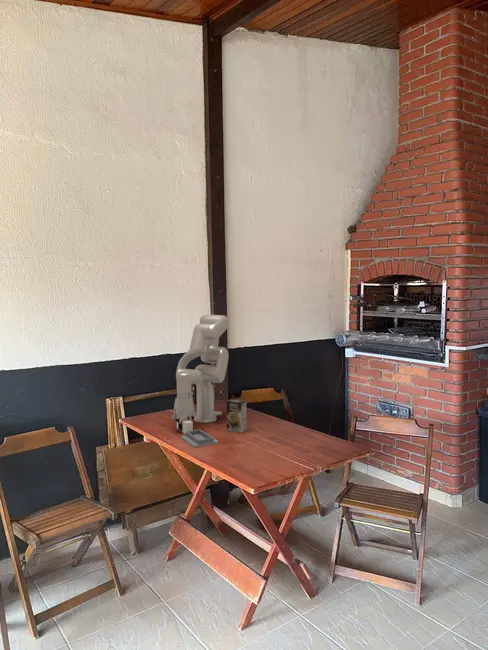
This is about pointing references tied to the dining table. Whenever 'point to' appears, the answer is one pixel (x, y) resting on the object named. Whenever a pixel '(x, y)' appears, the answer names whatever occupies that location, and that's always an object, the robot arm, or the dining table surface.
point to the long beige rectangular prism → (186, 425)
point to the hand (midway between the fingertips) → (184, 429)
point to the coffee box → (236, 415)
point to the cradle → (198, 438)
